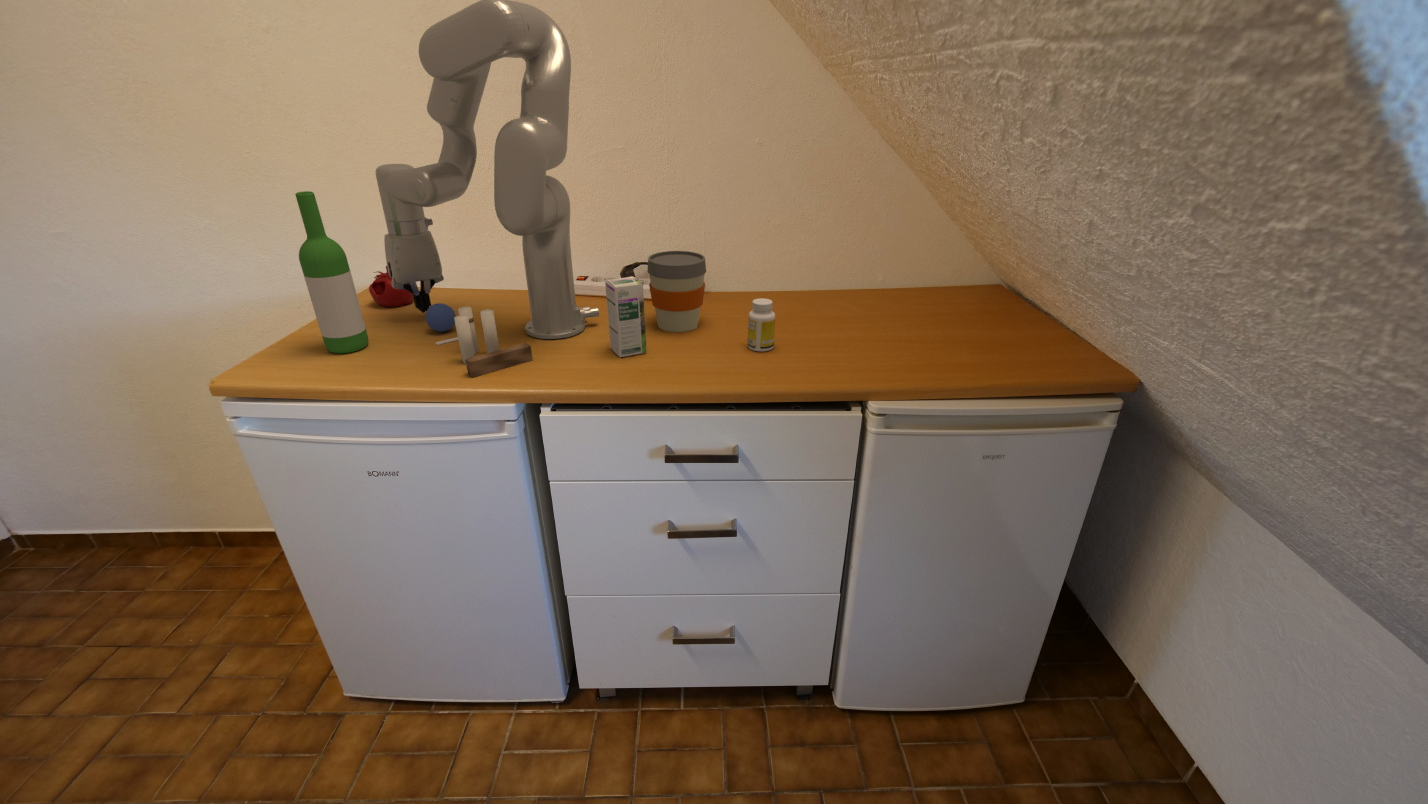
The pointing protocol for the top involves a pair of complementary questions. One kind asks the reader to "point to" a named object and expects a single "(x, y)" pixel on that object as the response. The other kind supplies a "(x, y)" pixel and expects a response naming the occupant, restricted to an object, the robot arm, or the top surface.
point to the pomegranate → (388, 292)
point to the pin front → (468, 312)
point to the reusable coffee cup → (677, 288)
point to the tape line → (446, 341)
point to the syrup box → (626, 316)
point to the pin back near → (489, 330)
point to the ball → (440, 317)
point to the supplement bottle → (761, 325)
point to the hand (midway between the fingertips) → (424, 310)
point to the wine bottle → (329, 283)
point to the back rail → (498, 359)
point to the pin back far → (464, 337)
